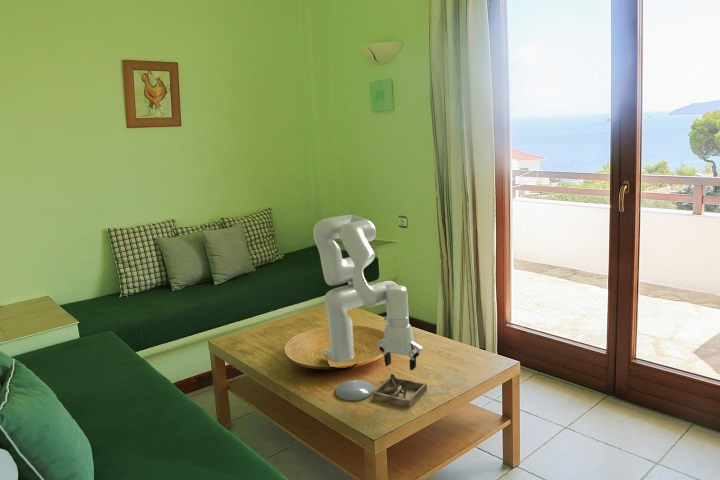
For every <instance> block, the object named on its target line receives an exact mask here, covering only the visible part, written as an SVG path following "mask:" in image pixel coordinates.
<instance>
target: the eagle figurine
mask: <svg viewBox="0 0 720 480" xmlns="http://www.w3.org/2000/svg"><path fill="white" fill-rule="evenodd" d="M389 377H391V380H392V382H393V385H394V386H395V387H390V388H389V387H388V388H387V389H385V390H384V391H383V394H386V395H394V394H395V393H397V394H398V393H400V394H403V397H404V398H406V394H407V391H408V390H409V388H410V387H409V386H410V385H411V382H410V384H409V385H407V384H406V385H405V386H401V385H400V383H399V382H398V380H396V378H395V377H396V376H395V375H394V373H391V374H390V376H389ZM402 390H403V391H402Z"/></svg>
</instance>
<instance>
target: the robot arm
mask: <svg viewBox="0 0 720 480" xmlns="http://www.w3.org/2000/svg"><path fill="white" fill-rule="evenodd" d="M312 232H313V233H312V234H313V241H314V242H315V246H316V247H317V249H318V254H319V257H320V263H321V268H322V274H323V278H324V281H325V283H326V284H327V285H329V286H337V285H341V284H344V283H348V284H347V285H343V286H339V287H335V288H333V289H331V290H329V291H327V292H326V294H325V295H324V299H323V301H324V305H325V309H326V313H327V320H328V323H327V324H328V336H329V337H328V338H329V348H324V349H323V354H322V355H323V356H325V357H328V358H329V359H331V360H332V361H335V362H344V361H348V360H351V359H353V358H354V355H355V353H354V352H355V351H354V350H355V349H354V348H355V347H354V334H353V333H354V332H353V331H354V330H353V329H354V328H353V320H352V318H351V316H350V315H349V314H348V312H347V311H349V310H352V309H355V308H359V307H362V306H363V305H364V306H366V307H369V308H370V307H371V308H372V307H375V306H379V305H382V304H385V305H386V316H385V315H384V317H383V320H384V321H386V323H385V325H384V331H383V338H382V339H379V340H378V341H376V343H377V345H378V347H379V351H380V352H381V353H382V355H383V356H384V357H383V359H384V363H385V364H384V365H385V367H388V366H390V365H391V364H392V354H395V355H402V356H408V357H409V358H410V359H409V371H414V370H415V368H417V358H418V356H420V355H421V353H422V350H423V347H422V346H421V345H419V343H418V344H417V343H416V342H415V340H414V335H413V334H414V332H413V329H412V326H411V324H410V320H409V319H410V318H409V298H408V297H409V296H408V289H407V288H406V286H404V285H401V284H397V283H396V282H395V281H392V280H385V281H380V282H376V283H372V284H370V285H369V284H368V281H367V280H366V278H365V275H364V269H365V268H366V267H368V266H369V265H370V264H371V263H372V262H373V261H374V259H375V258H376V254H375V252H374V250H373V248H372V247H371V245H370V243H369V242H372V241H373V240H375V238H376V237H377V230H376V227H375V225H374V224H373V222H372V221H370V220H369V219H366V218H364V217H361V216H358V215H354V214H346V215H339V216H333V217H327V218H324V219H321V220H319V221H317V222H316V223H315V224H314V226H313V231H312ZM336 239H337V240H338V239H339V240H340V241H341V242H342V245H343V246H344V249H345V250H346V252H347V254H348V256H349V257H345V258H343V255H342V250H341V247H340V245H339V244H338V243H337V242H336V241H335V240H336ZM415 349H416V352H415ZM328 358H327V359H328Z"/></svg>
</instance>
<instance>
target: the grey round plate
mask: <svg viewBox="0 0 720 480" xmlns="http://www.w3.org/2000/svg"><path fill="white" fill-rule="evenodd" d="M374 391H375V387H374V385H373V384H372V383H371V382H368V381H366V380H361V379H352V380H346V381H344V382H341V383H339V384H338V385H337V386H336V388H335V395H336V396H337V397H338V398H339V399H341V400H344V401H348V402H349V401H350V402H358V401H363V400H366V399H369V398H370V397H371V396H373V392H374Z"/></svg>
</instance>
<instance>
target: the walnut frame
mask: <svg viewBox="0 0 720 480" xmlns="http://www.w3.org/2000/svg"><path fill="white" fill-rule="evenodd" d="M395 378H396V380H398V382H399V383H400V385H399V386H401V387H405V385H406V384H407V385H409V384H410V382H411V385H410V386H409V388H411V389H416V390H417V391H415V393H413V394H412V395H411V397H410V398H408V399H407V398H403V397H399V396H398V397H397V396H395V395H392V394H384V391H385V390H387V389H389V387H390V386H391V385H392V384H393V382H392V380H391V377H390V376H389V377H387V378H386V380H385V381H383V382H382V383H381V384H380V385H379V386H378V387H377V388H375V389H374V392H373V394H372V400H376V401H380V402H385V403H388V404H392V405H398V406H400V407H405V408H409V409H411V408H412V406H413V405H415V403H416V402H417V401H418V400H419V399H420V398H421V397H422V396H423V395H424V394H425V392H427V390H428V389H427V388H428V386H427V385H428V384H427V383H425V382H420V381H416V380H411V379H407V378H403V377H397V376H395ZM393 385H394V384H393Z"/></svg>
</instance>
